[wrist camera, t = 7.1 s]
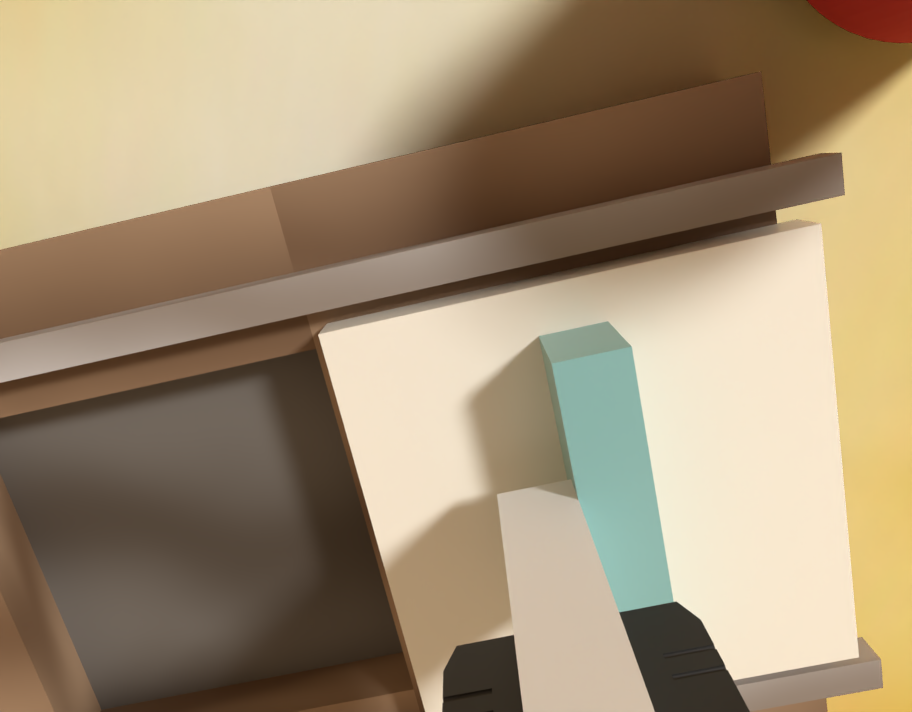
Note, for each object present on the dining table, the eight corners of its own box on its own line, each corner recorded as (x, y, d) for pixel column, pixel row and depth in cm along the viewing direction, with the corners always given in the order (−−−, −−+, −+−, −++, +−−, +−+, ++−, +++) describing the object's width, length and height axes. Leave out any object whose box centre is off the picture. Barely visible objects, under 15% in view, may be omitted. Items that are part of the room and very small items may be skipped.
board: (-149, 286, 17) (-263, 311, 14) (769, 71, 16) (833, 53, 13) (87, 804, 21) (33, 898, 18) (829, 668, 20) (887, 748, 17)
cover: (326, 323, 15) (296, 361, 12) (797, 219, 15) (881, 233, 12) (433, 704, 18) (428, 810, 15) (836, 629, 17) (913, 724, 14)
